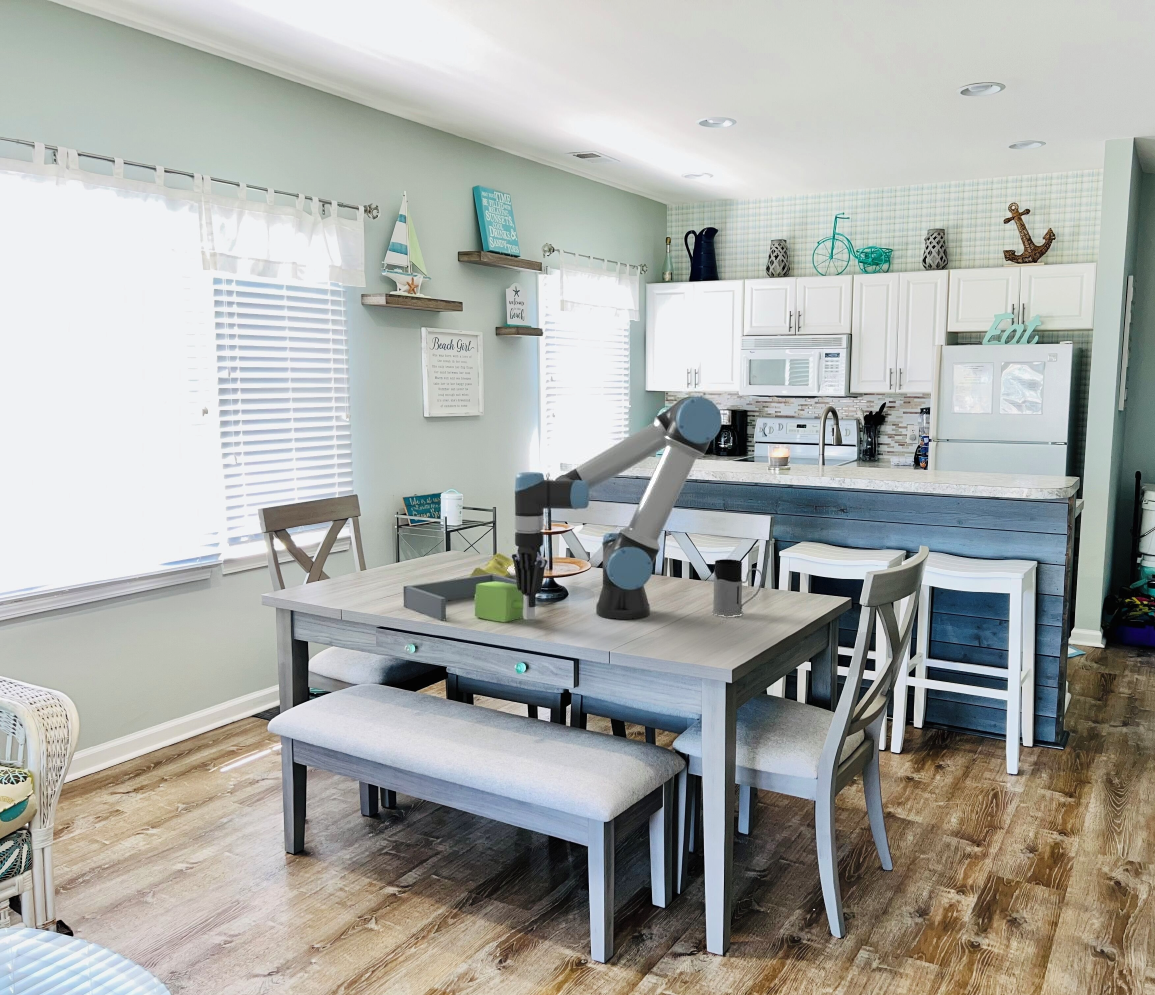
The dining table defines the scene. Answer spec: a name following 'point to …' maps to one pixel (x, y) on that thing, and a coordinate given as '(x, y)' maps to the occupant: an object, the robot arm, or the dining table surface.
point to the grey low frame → (445, 593)
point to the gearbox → (498, 601)
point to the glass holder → (729, 587)
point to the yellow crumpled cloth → (495, 566)
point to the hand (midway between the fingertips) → (529, 618)
